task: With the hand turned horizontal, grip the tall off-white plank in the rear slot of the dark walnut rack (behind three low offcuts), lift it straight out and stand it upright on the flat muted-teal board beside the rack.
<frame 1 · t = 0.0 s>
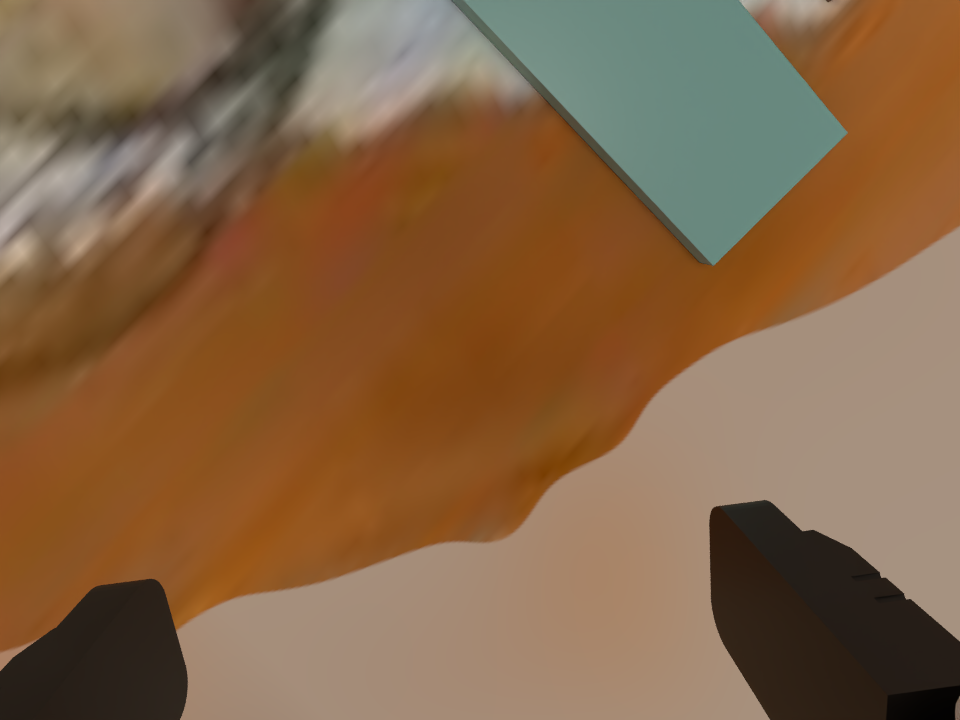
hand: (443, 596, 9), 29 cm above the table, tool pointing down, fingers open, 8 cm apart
board: (637, 61, 35), on the table
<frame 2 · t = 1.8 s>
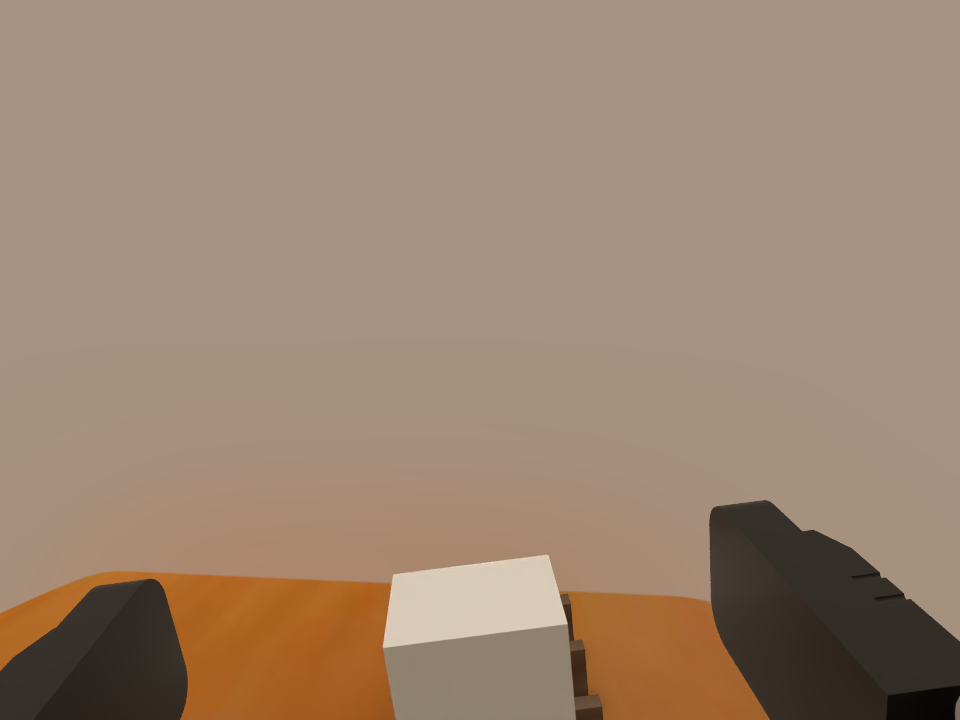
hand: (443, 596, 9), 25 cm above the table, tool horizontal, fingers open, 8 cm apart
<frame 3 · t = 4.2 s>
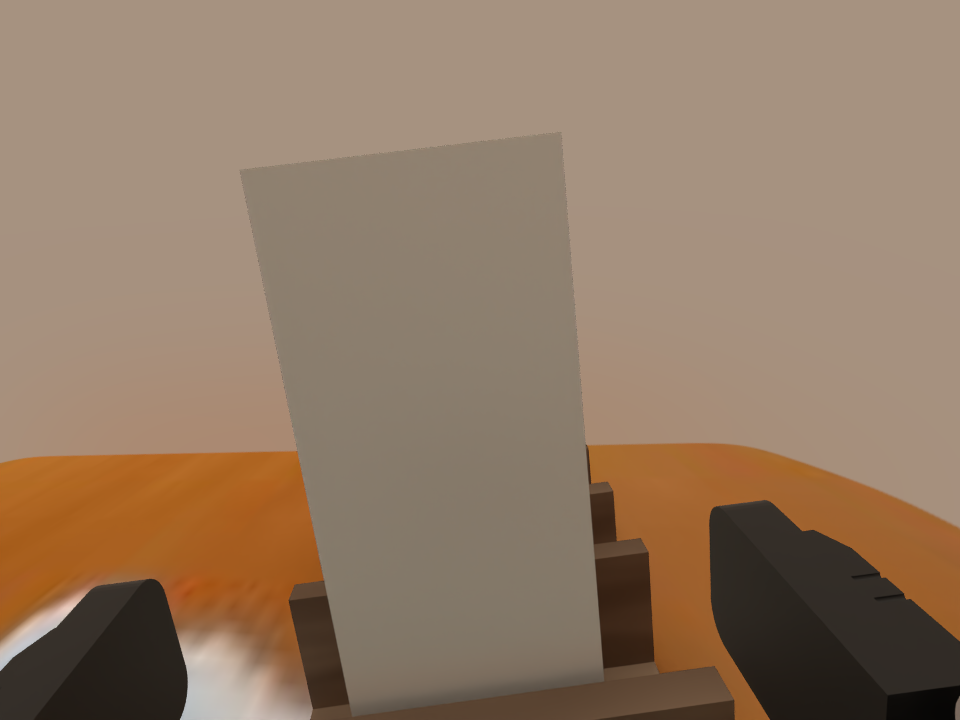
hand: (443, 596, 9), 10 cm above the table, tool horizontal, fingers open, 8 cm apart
rack: (481, 633, 24), on the table
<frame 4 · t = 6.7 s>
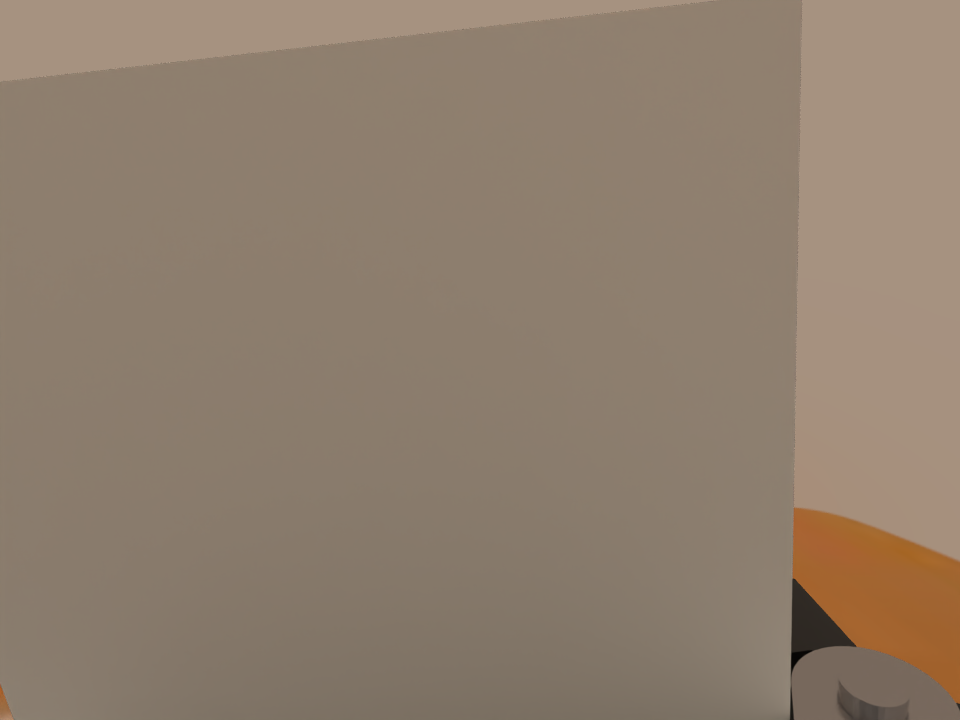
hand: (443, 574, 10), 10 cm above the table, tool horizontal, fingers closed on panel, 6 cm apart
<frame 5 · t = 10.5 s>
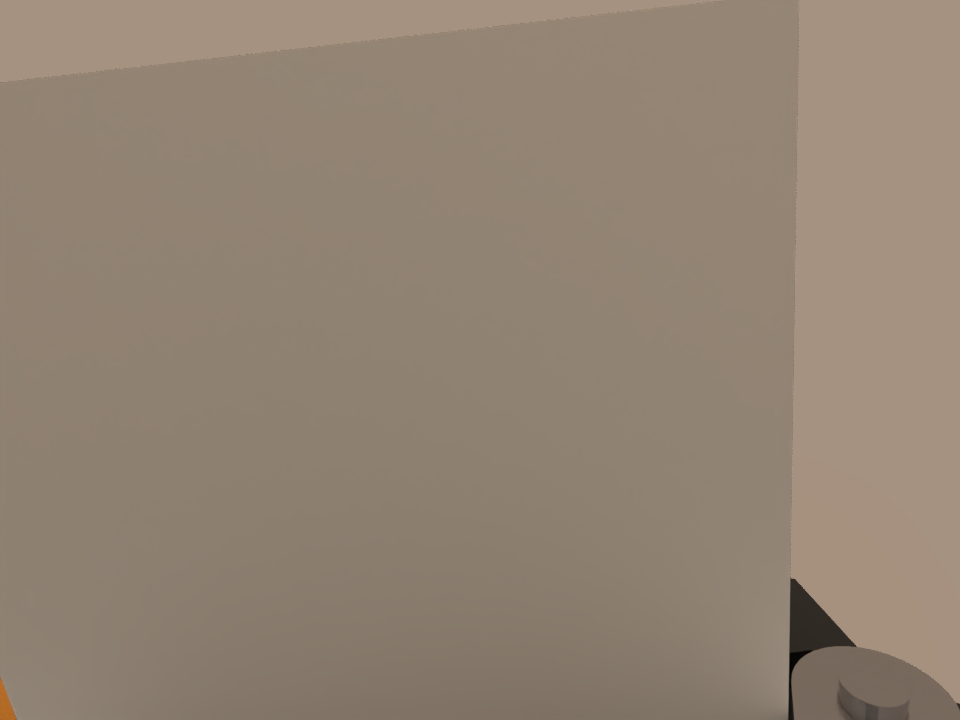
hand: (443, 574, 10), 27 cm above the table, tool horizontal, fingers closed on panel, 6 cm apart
when the fingers open (13 cm above the table, at t = 14.7 s): panel drops 1 cm, resting on board.
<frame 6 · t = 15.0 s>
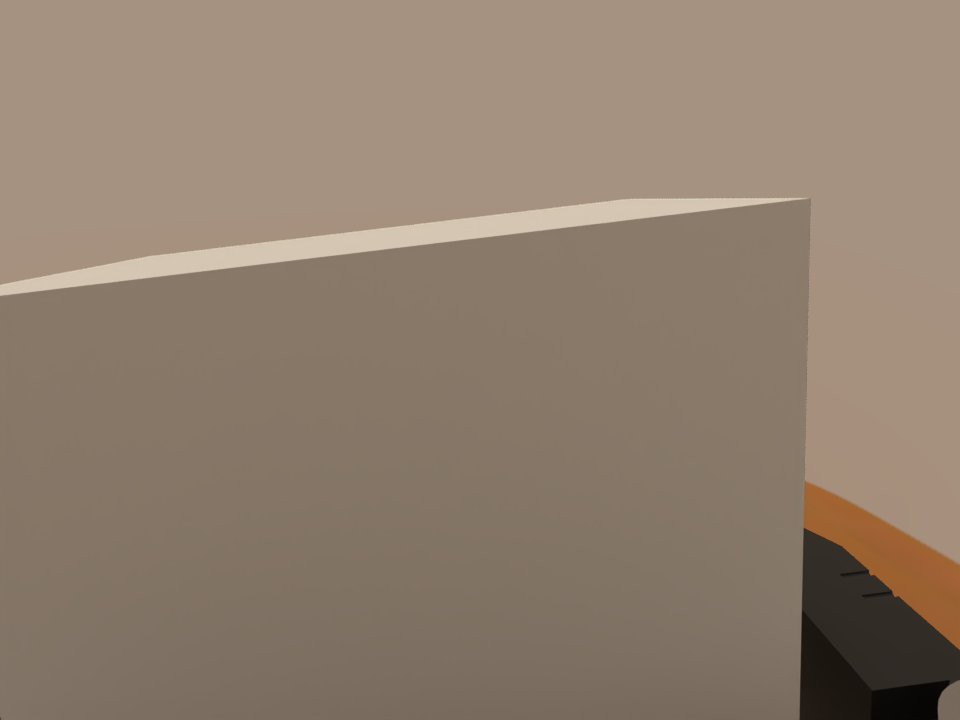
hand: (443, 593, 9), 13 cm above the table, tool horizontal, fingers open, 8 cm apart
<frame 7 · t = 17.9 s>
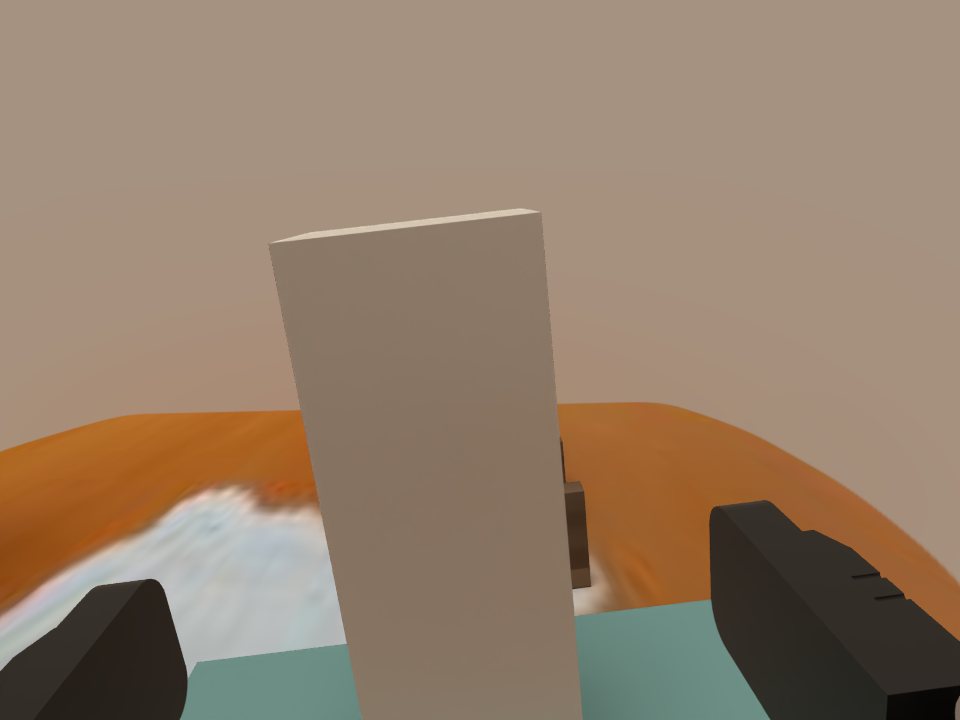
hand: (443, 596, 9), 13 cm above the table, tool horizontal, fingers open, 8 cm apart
rack: (470, 503, 39), on the table
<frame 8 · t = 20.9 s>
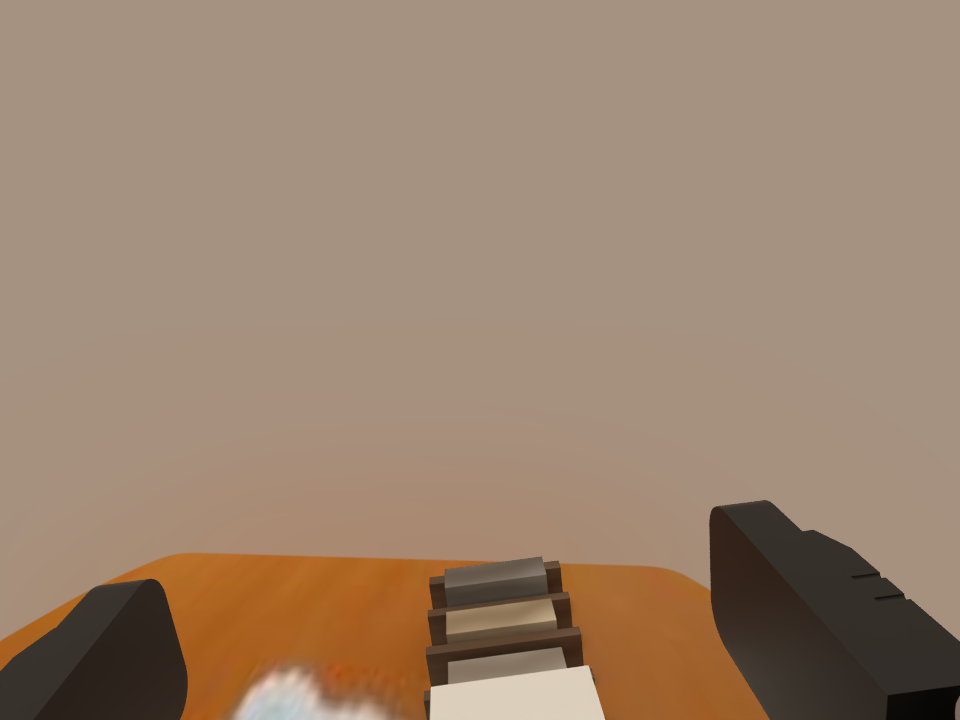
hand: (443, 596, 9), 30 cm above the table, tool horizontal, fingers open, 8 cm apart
offcut tall: (501, 630, 51), point 1 cm above the table, touching rack
offcut short: (511, 709, 43), point 1 cm above the table, touching rack
offcut mid: (506, 666, 47), point 1 cm above the table, touching rack
rack: (511, 707, 44), on the table
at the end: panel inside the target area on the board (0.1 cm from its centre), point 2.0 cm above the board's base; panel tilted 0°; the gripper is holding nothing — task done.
